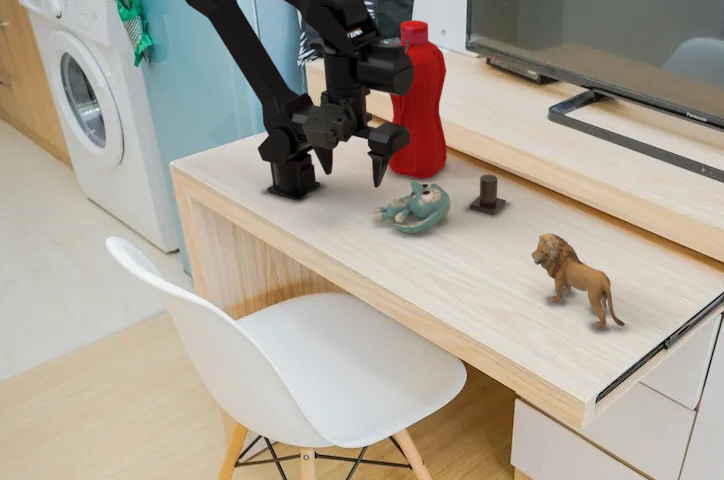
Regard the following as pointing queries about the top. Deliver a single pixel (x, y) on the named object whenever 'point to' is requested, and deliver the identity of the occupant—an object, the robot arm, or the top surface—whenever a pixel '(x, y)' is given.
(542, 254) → the lion figurine
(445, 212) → the stuffed animal
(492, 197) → the peg
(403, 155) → the water bottle
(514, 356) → the top surface
